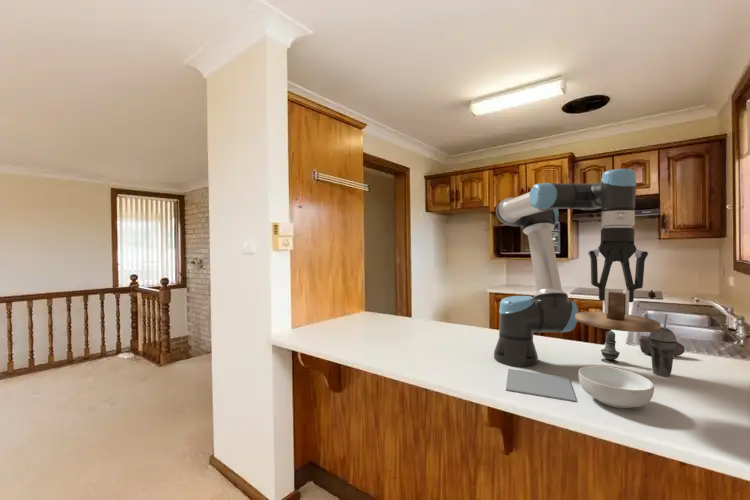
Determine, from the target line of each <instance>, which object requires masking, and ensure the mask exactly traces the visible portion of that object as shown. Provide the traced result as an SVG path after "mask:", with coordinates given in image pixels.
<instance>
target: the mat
mask: <svg viewBox="0 0 750 500" xmlns="http://www.w3.org/2000/svg"><path fill="white" fill-rule="evenodd" d="M505 391H506V392H507V391H509V392H513V393H519V394H525V395H532V396H538V397H545V398H549V399H550V398H551V399H557V400H563V401H570V402H575V403H576V402H577V398H576V395H575V393H574V390H573V387H572V383H571V381H570V378H569V376H565V375H563V376H562V375H556V374H547V373H540V372H536V371H534V372H533V371H527V370H520V369H512V368H508V370H507V376H506V384H505Z"/></svg>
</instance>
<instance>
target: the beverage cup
mask: <svg viewBox="0 0 750 500" xmlns="http://www.w3.org/2000/svg"><path fill="white" fill-rule="evenodd" d="M667 320H668V314H665V315H664V321H663V322H664V323H663V327H662V326H660V330H658V331H654V332H649V335H648V336H649V341H650V345H651V354H650V355H651V367H652V373H653V374H654V375H656V376H659V377H662V378H669V377H670V378H671V375H672V370H673V363H674V357H675V356H674V349H675V347H676V343H677V342H678V341H677V337H676V335H675V333H674V331H672V330H670V329H669V328H668V327H667Z"/></svg>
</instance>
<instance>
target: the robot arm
mask: <svg viewBox="0 0 750 500" xmlns="http://www.w3.org/2000/svg"><path fill="white" fill-rule="evenodd" d="M600 180H601V181H600V182H596V183H557V182H556V183H551V182H543V183H535V184H534V185H533V186H532V188H530V191H529V192H526V193H523V194H521V195H518V196H516V197H506V198H505V199H501V201H499V202H498V204H497V205H496V208H495V214H496V215H495V216H496V218H497V220H498V221H499V222H500V223H502V224H503V225H506V226H509V227H520V228H522V232H523V234H524V235H527V237H528V238H527V239H528V246H529V252H530V257H531V264H532V270H533V276H534V282H535V289H536V293H535V294H534V295H533V297H532V296H531V295H513V296H507V297H504V298H502V299H501V300H500V301H499V309H498V312H499V313H498V314H499V315H498V316H499V317H498V318H499V327H498V329H499V330H498V333H499V334H498V336H499V337H498V340H497V343H496V346H495V348H494V350H493V359H494V360H495V361H496V362H498V363H501V364H504V365H507V366H508V365H509V366H512V367H521V368H523V367H526V368H527V367H534V366H537V365H538V364H539V355H538V352H537V350H536V347H535V343H534V333H556V334H559V333H568V332H569V333H570V332H571V331H573V330H574V329H575V328H576V326H577V323H578V321H576V320H575V314H576V313H579V309H578V306H577V304H576V302H575V301H574V300H571V299H569V297H568V293H567V292H565V291H564V290H563V288H562V284H561V280H560V279H561V278H560V272H559V267H558V262H557V256H556V251H555V245H554V241H553V235H552V233H553V231H554V230H555V226H556V225H557V224H558V222H559V215H560V214H559V213H560V212H559V210H560V209H563V210H565V209H566V210H574V209H575V210H583V211H595V210H599V209H601V212H600V213H601V215H600V217H601V218H600V219H601V220H600V222H601V223H600V226H601V227H603V228H601V230H600V243H599V245H598V247H597V248H596V249H595V248H594V249H592V250H588V251H587V254H588V256H589V259H590V283H591V286H593V287H595V288H597V289H598V299H599V301H602V312H604V313H607V314H608V295H609V292H610V291H609V289H608V288H606V287H607V282H608V279H609V275H610V272H611V268H612V266H613V263H615V262H620V265H621V268H622V269H621V270H622V272H623V277H624V278H623V279H624V281H625V282H624V283H625V286H626V288H625V289H624V288H623V292H622V293H625V315H630V314H629V313H630V310H629V309H630V303H634V300H635V299H634V297H635V294H634V292H635V291H636V290H639V289H643V287H644V286H643V285H644V274H645V261H646V259H647V257H648V255H649V252H648V251H647V250H646V251H644V250H641V249H637V247H636V245H635V233H636V232H635V231H636V230H635V229H634V226H635V225H636V222H635V221H636V215H635V214H636V209H635V208H636V194H637V193H636V192H637V182H636V181H637V180H636V172H635V170H634V169H631V168H617V169H616V168H615V169H609V170H606V171H603V173H602V176H601V179H600ZM599 254H601V255H602V257H603V258H604V262H603V263H604V264H603V267H602V272H601V275H600V277H599V276H598V274H599V273H598V271H599V270H598V257H599ZM634 254H635V258H636V260H635V261H636V262H635V275H634V279H633V275H632V271H631V267H630V258H631V257H632V256H633V255H634ZM598 277H599V278H598ZM598 279H599V281H598Z"/></svg>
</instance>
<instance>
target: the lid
mask: <svg viewBox="0 0 750 500" xmlns="http://www.w3.org/2000/svg"><path fill="white" fill-rule="evenodd" d="M575 320H576V321H577V323H580V324H583V325H586V326H590V327H594V328H599V329H606V330H609V331H610V330H611V331H620V332H631V333H632V332H633V333H651V332H654V331H658V330H660V327H661V322H659V321H657V320H654V319H651V318H649V317H644V316H639V315H633V314H629V315H625V293H623V292H619V291H618V292H616V291H609V295H608V314H607V313H604V312H603V311H582V312H578V313H576V314H575Z"/></svg>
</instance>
